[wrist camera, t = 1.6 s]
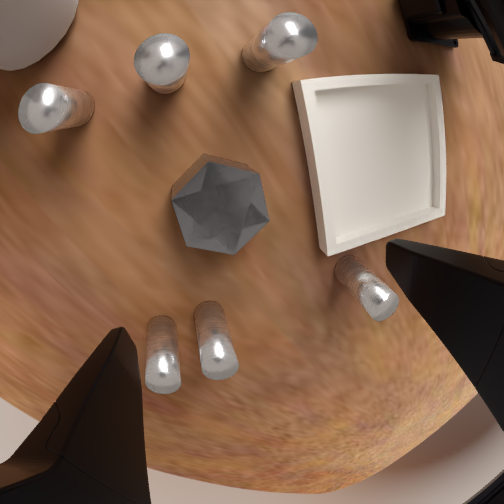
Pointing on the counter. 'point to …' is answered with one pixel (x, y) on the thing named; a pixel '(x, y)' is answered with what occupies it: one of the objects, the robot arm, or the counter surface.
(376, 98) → the tray
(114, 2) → the counter surface
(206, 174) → the grey faceted icosahedron
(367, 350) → the counter surface
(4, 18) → the can
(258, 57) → the spacer posts
